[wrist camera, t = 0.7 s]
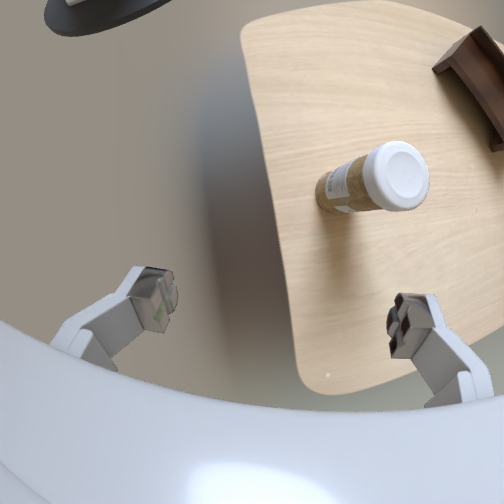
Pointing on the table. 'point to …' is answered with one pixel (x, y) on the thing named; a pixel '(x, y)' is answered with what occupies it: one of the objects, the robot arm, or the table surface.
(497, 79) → the shelf
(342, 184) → the sprinkles bottle
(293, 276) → the table surface
